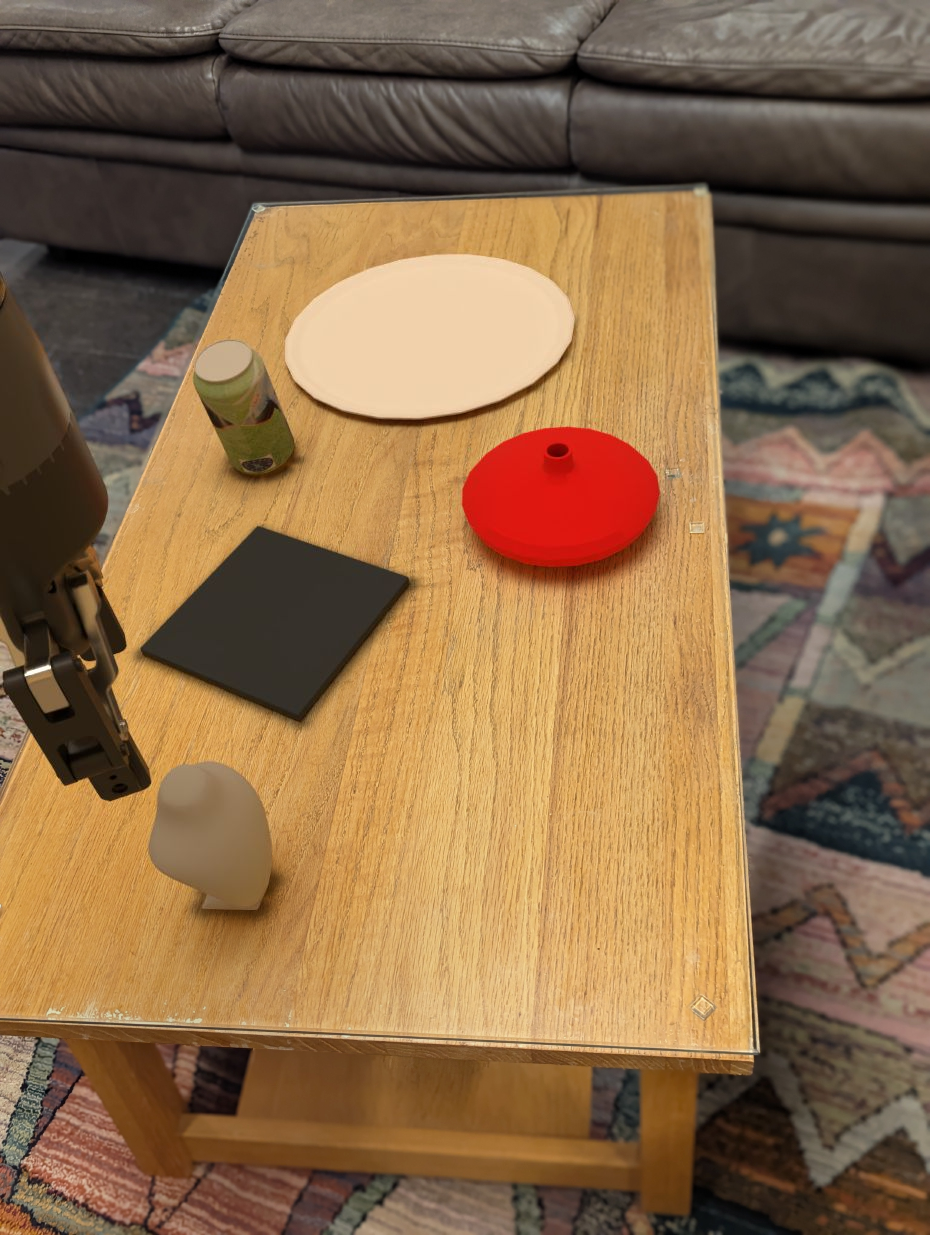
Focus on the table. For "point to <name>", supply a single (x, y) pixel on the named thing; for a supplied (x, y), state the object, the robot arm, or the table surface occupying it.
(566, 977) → the table surface
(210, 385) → the beverage can
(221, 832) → the grey rounded body
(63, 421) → the robot arm
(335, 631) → the mat
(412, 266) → the plate
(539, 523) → the red disc with nozzle
